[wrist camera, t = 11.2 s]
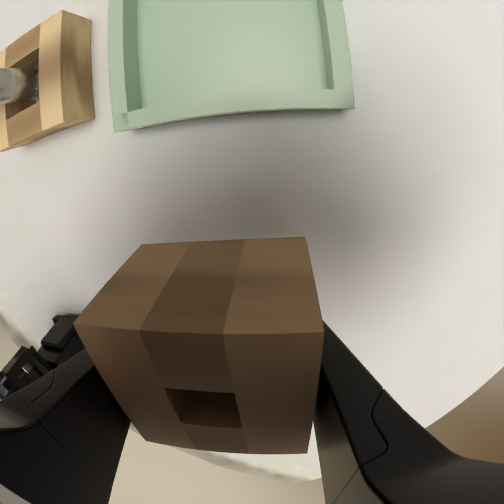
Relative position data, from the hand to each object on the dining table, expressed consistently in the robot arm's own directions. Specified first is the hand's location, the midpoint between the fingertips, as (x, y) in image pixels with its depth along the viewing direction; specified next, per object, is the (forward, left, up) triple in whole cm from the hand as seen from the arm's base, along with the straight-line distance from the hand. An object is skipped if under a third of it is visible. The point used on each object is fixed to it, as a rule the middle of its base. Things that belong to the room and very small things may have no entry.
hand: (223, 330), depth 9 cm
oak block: (+12, +14, -11) cm, 21 cm away
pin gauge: (+12, +14, -11) cm, 21 cm away
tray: (+13, +1, -11) cm, 17 cm away
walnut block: (0, 0, -1) cm, 1 cm away
